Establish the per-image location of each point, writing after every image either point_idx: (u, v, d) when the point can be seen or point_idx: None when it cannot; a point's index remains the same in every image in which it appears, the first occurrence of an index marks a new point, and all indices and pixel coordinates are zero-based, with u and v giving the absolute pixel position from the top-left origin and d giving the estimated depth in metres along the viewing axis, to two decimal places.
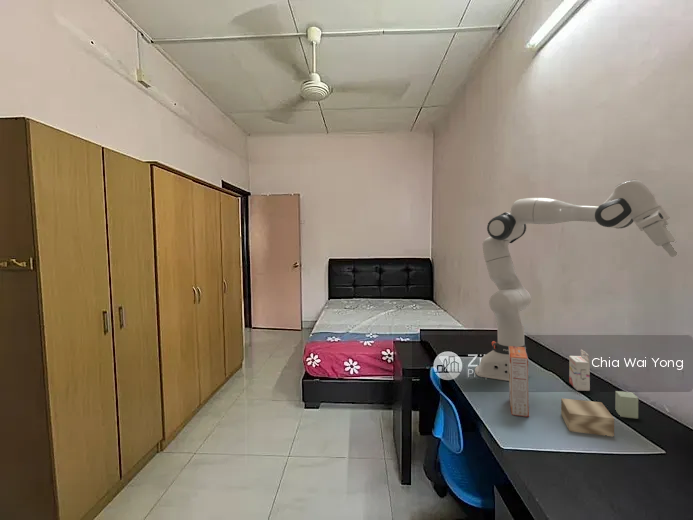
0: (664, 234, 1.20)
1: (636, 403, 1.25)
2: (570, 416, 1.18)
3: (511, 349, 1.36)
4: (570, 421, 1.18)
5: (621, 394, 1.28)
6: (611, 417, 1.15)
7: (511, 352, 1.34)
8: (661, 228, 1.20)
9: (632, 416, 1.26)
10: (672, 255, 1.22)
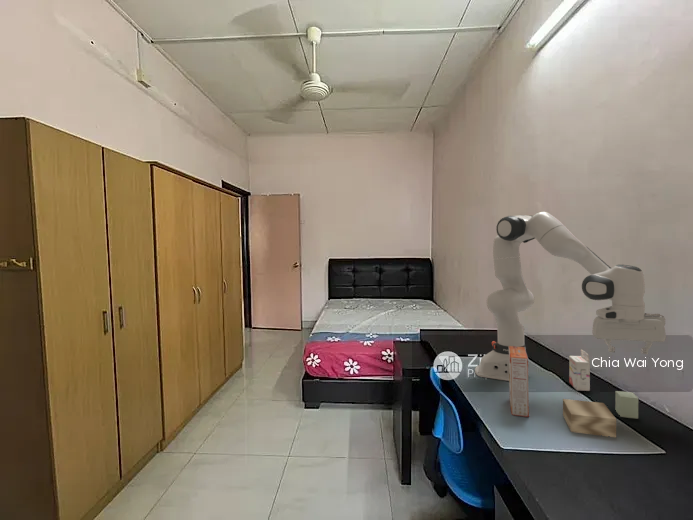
0: (595, 331, 1.29)
1: (636, 403, 1.25)
2: (572, 417, 1.18)
3: (511, 349, 1.36)
4: (572, 422, 1.18)
5: (621, 394, 1.28)
6: (613, 418, 1.14)
7: (511, 352, 1.34)
8: (596, 325, 1.28)
9: (632, 416, 1.26)
10: (608, 350, 1.30)
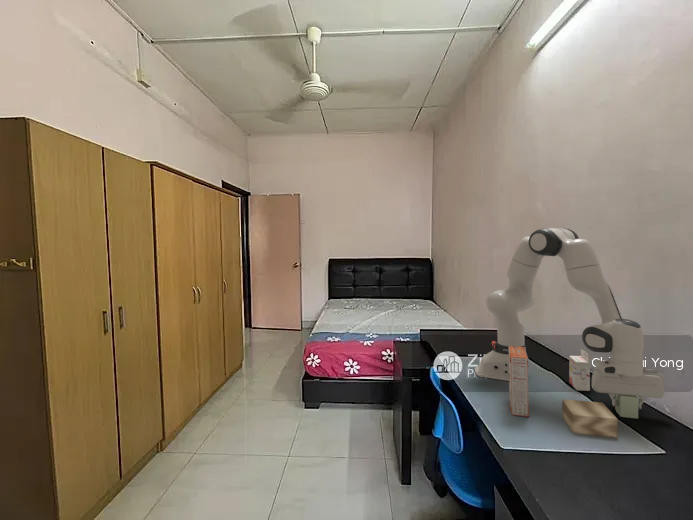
0: (594, 385, 1.30)
1: (636, 403, 1.25)
2: (574, 417, 1.17)
3: (511, 349, 1.36)
4: (574, 422, 1.17)
5: None
6: (614, 417, 1.15)
7: (511, 352, 1.34)
8: (595, 379, 1.29)
9: (632, 416, 1.26)
10: (612, 403, 1.30)
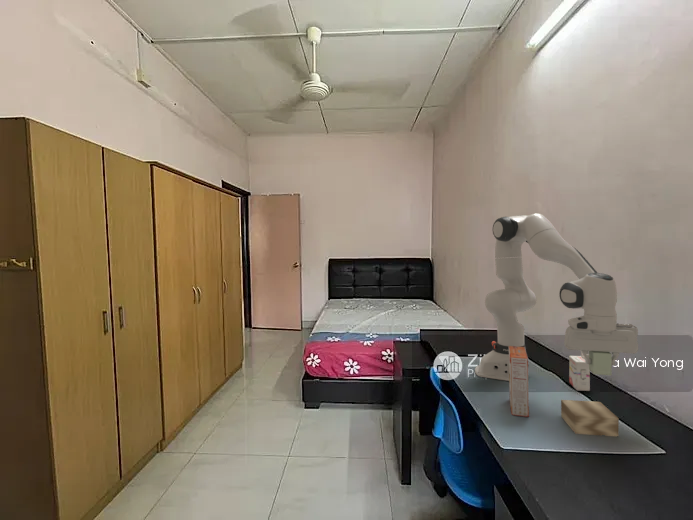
0: (567, 342, 1.25)
1: (609, 359, 1.20)
2: (576, 418, 1.16)
3: (511, 349, 1.36)
4: (576, 423, 1.17)
5: (594, 351, 1.23)
6: (615, 417, 1.15)
7: (511, 352, 1.34)
8: (568, 336, 1.24)
9: (605, 373, 1.21)
10: (585, 361, 1.25)
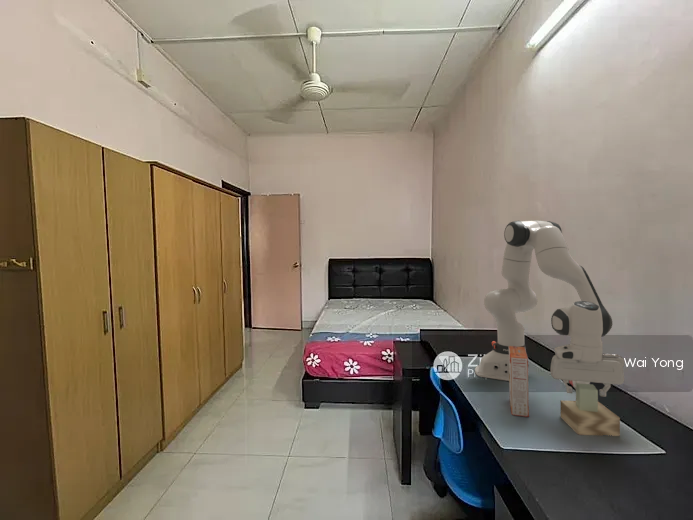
0: (552, 371, 1.23)
1: (595, 396, 1.19)
2: (579, 419, 1.16)
3: (511, 349, 1.36)
4: (579, 424, 1.16)
5: (581, 386, 1.22)
6: (616, 417, 1.15)
7: (511, 352, 1.33)
8: (553, 365, 1.23)
9: (591, 409, 1.19)
10: (566, 390, 1.24)
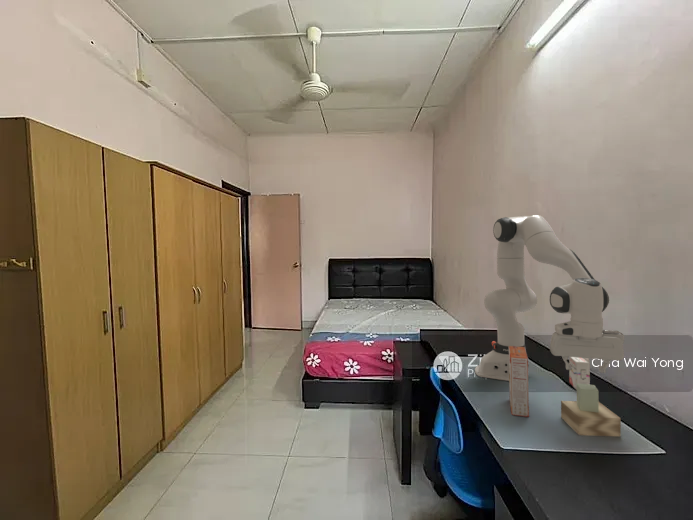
0: (552, 348, 1.23)
1: (596, 396, 1.18)
2: (580, 420, 1.16)
3: (511, 349, 1.36)
4: (580, 425, 1.16)
5: (581, 386, 1.21)
6: (617, 417, 1.15)
7: (511, 352, 1.34)
8: (553, 342, 1.22)
9: (592, 410, 1.19)
10: None
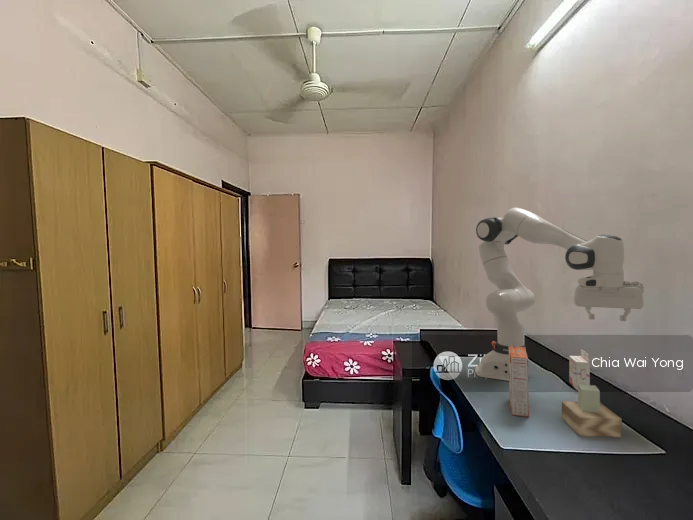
0: (576, 299, 1.34)
1: (597, 396, 1.18)
2: (580, 420, 1.15)
3: (511, 349, 1.36)
4: (580, 425, 1.15)
5: (583, 387, 1.21)
6: (618, 417, 1.15)
7: (511, 352, 1.34)
8: (577, 293, 1.33)
9: (593, 410, 1.18)
10: None
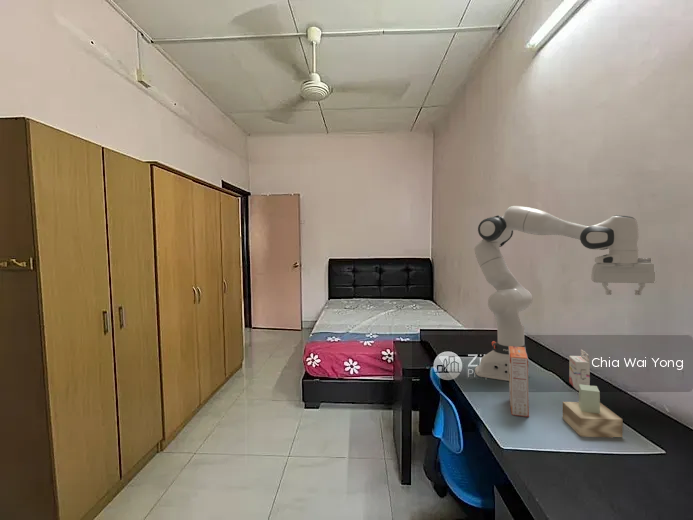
0: (594, 275, 1.43)
1: (597, 397, 1.17)
2: (581, 421, 1.15)
3: (511, 349, 1.36)
4: (581, 426, 1.15)
5: (583, 387, 1.21)
6: (619, 418, 1.14)
7: (511, 352, 1.33)
8: (595, 270, 1.42)
9: (593, 411, 1.18)
10: None
